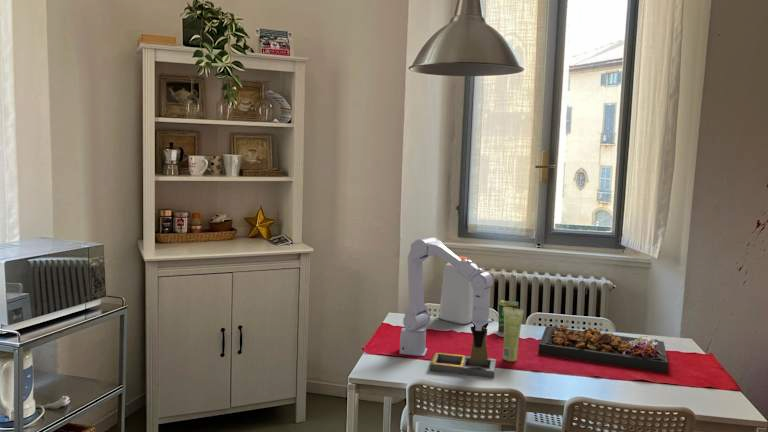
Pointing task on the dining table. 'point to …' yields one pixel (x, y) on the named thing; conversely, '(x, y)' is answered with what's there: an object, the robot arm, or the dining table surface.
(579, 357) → the food platter
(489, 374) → the rail plate
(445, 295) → the plastic bottle
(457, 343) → the dining table surface
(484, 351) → the cork
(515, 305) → the coffee box
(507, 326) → the tube
